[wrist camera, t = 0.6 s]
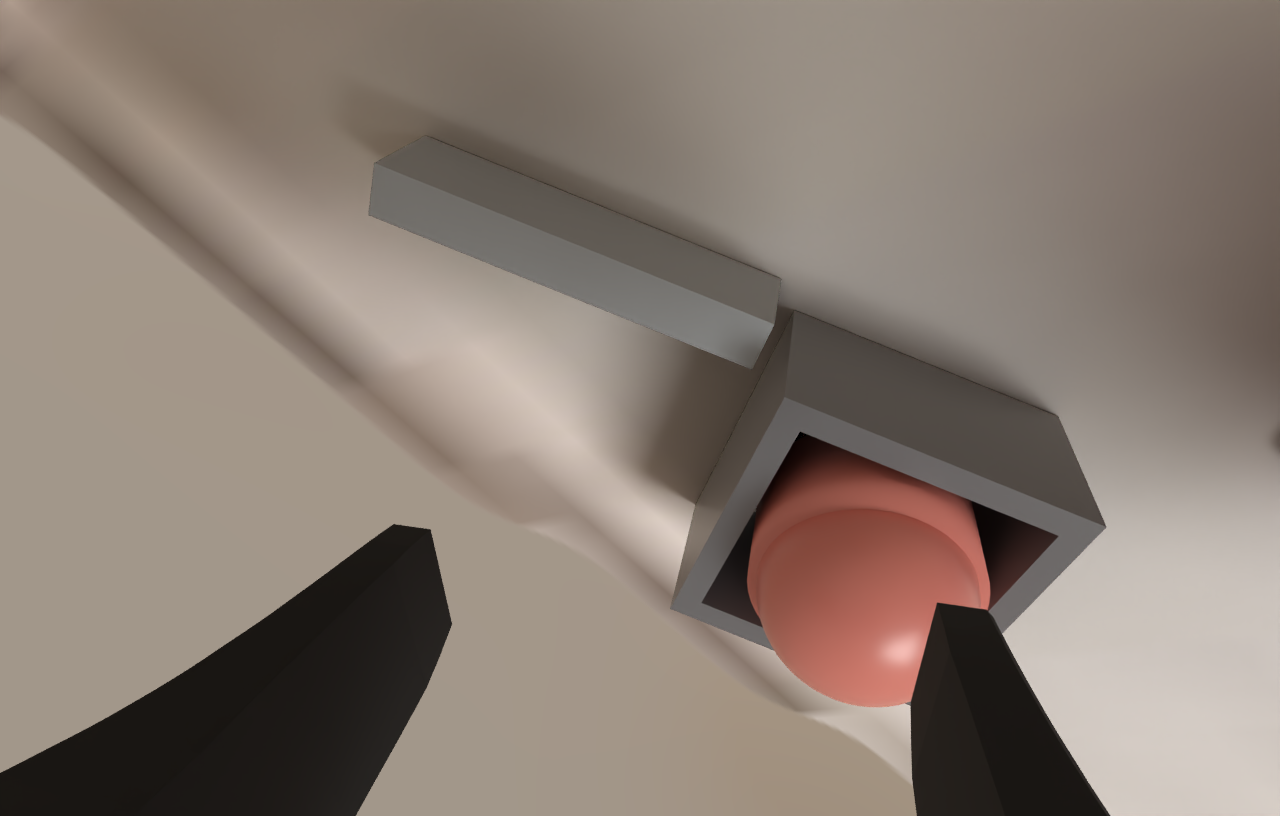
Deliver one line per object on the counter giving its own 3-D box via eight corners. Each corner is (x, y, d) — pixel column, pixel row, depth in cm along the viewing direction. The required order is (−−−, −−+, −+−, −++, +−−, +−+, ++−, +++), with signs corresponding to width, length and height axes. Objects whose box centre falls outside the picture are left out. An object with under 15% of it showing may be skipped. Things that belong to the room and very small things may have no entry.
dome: (1015, 474, 17) (1071, 654, 13) (904, 609, 20) (921, 791, 16) (810, 392, 17) (802, 544, 13) (728, 538, 20) (698, 702, 16)
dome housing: (1058, 416, 18) (1106, 526, 15) (912, 593, 22) (925, 711, 19) (794, 310, 18) (784, 396, 15) (695, 505, 22) (670, 608, 19)
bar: (781, 279, 18) (774, 324, 16) (761, 321, 19) (752, 369, 17) (425, 135, 18) (374, 163, 16) (418, 183, 19) (368, 214, 17)
